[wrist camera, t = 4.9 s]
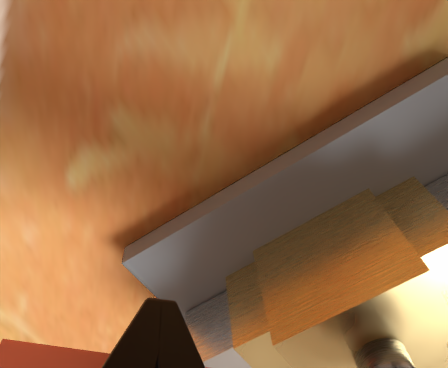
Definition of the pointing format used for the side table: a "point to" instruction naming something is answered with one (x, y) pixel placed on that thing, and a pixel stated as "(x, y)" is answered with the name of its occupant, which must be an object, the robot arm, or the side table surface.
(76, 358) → the lever
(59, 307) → the side table surface
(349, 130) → the board
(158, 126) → the side table surface
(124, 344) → the robot arm
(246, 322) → the valve
